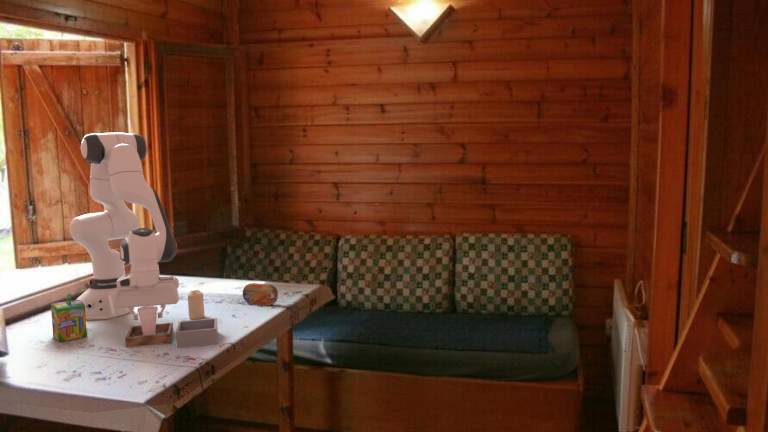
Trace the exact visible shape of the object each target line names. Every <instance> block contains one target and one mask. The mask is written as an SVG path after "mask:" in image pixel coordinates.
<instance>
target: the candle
mask: <svg viewBox="0 0 768 432" xmlns="http://www.w3.org/2000/svg"><path fill="white" fill-rule="evenodd" d="M187 304H188V305H187V306H188V307H187V308H188V317H189V318H188V319H189V320H201V319H203V318H205V301H204V293H202V292H201V290H199V289H194V290H191V291H190V292H189V293H188V294H187Z"/></svg>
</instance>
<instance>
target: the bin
mask: <svg viewBox="0 0 768 432" xmlns="http://www.w3.org/2000/svg"><path fill="white" fill-rule="evenodd" d="M218 334H219V329H218V318H217V317H215V318H204V319H203V318H200V319H189V320H182V321H179V320H178V321H177V325H176V330H175V342H176V344H175V346H176V348H177V349H178V348H189V347H197V346H207V345H208V346H209V345H218V341H219V340H218V336H219V335H218Z"/></svg>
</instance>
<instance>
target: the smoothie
mask: <svg viewBox="0 0 768 432" xmlns="http://www.w3.org/2000/svg"><path fill="white" fill-rule="evenodd" d="M136 313H137V314H138V317H139V321H140V325H141V327H142V332H143V334H142V336H148V335H156V333H155V332H156V324H157V318H158V314H157V313H158V305H155V306H142V307H138V308H137V312H136Z"/></svg>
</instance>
